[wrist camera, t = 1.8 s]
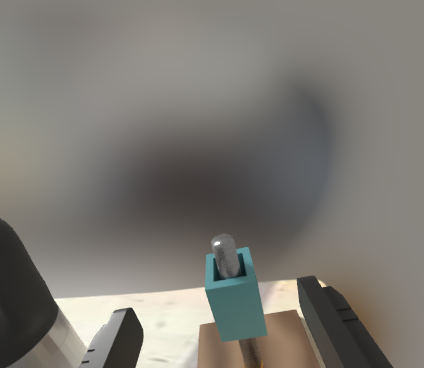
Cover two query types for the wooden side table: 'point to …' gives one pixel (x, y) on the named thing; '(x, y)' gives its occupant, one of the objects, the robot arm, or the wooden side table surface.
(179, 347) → the wooden side table surface
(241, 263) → the sleeve
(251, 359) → the pipe
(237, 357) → the stand board
